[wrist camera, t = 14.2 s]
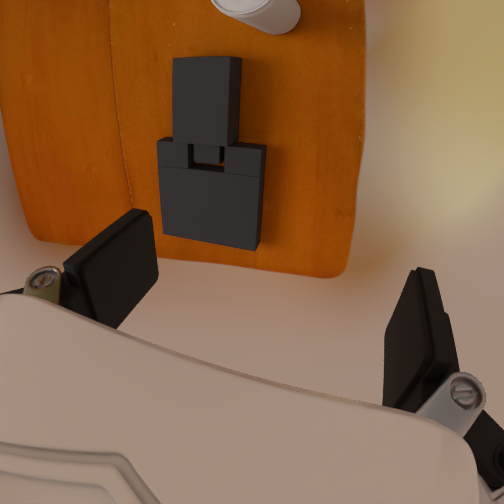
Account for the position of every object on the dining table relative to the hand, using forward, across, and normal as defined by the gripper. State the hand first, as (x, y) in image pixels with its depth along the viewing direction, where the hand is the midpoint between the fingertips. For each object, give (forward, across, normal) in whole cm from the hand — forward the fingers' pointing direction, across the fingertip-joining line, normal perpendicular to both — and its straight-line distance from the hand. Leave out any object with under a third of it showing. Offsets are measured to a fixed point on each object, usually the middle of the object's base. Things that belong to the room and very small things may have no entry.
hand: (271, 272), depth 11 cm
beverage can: (+24, +6, -12) cm, 28 cm away
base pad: (+24, +12, +8) cm, 28 cm away
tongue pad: (+24, +13, -2) cm, 27 cm away
